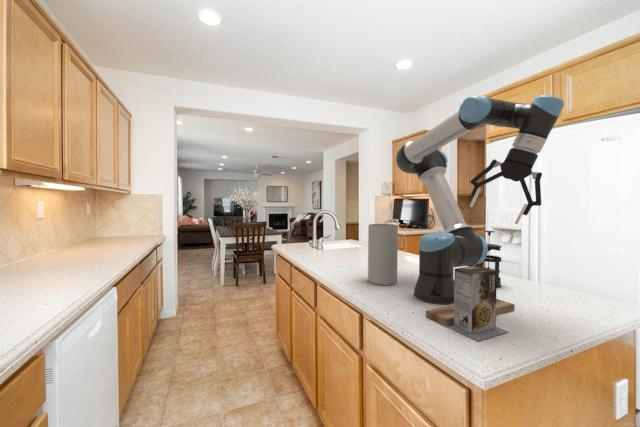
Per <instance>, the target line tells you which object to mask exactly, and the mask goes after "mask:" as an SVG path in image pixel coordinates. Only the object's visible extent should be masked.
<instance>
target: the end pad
mask: <svg viewBox="0 0 640 427" xmlns="http://www.w3.org/2000/svg"><path fill="white" fill-rule="evenodd" d="M447 328H448V329H451V330H453V331H454V332H457V333H459V334H461V335H463V336H465V337H467V338H469V339H471V340H473V341H476V342H481V341H484V340H488V339H492V338H495V337H499V336H502V335H506V334H508V333H509V331H507V330H506V329H503V328H500V327H497V326H496V328H494V329H490V330H486V331H481V332H477V333H473V334H471V333H469V332H467V331H465V330H463V329H461V328H459V327H457V326H455V325H452V326H448V327H447Z"/></svg>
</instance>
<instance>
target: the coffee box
mask: <svg viewBox="0 0 640 427" xmlns="http://www.w3.org/2000/svg"><path fill="white" fill-rule="evenodd" d="M453 271H454V274H453V279H454V303H453V305H454V325H455V326H457V327H459V328H461V329H463V330H465V331H467V332H469V333H471V334H473V333H477V332H481V331H486V330H490V329H494V328H496V327H497V315H496V299H497V288H496V277H497V271H495V270H491V269H488V268H487V267H484V266H483V267H480V266H476V265H473V266H463V267H455V268H454V269H453Z"/></svg>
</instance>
